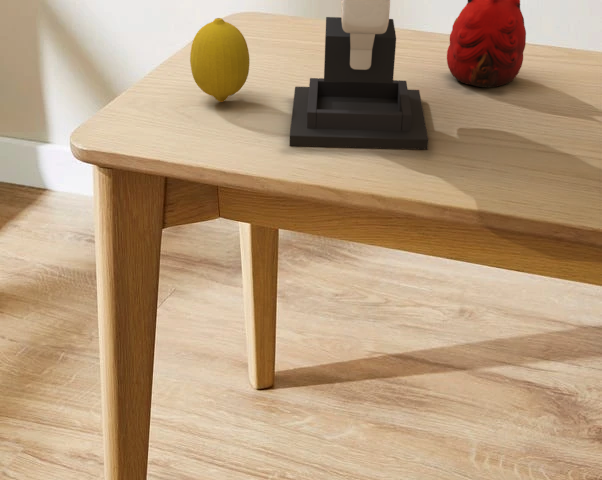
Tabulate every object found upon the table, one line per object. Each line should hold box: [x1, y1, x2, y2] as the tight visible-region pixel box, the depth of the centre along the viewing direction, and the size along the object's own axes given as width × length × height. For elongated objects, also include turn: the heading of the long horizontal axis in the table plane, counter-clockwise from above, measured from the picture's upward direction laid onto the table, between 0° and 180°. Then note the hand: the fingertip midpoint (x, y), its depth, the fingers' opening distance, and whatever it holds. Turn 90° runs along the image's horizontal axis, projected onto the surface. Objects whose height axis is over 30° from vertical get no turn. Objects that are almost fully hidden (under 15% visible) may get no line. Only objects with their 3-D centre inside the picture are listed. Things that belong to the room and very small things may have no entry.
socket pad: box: [289, 77, 429, 151], centre depth 89 cm, size 12×12×2 cm
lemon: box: [189, 17, 250, 103], centre depth 91 cm, size 6×6×8 cm
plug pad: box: [323, 16, 397, 83], centre depth 86 cm, size 6×6×4 cm
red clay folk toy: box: [446, 0, 527, 88], centre depth 95 cm, size 8×7×15 cm
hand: (359, 53), depth 86 cm, fingers closed on plug pad, 5 cm apart
